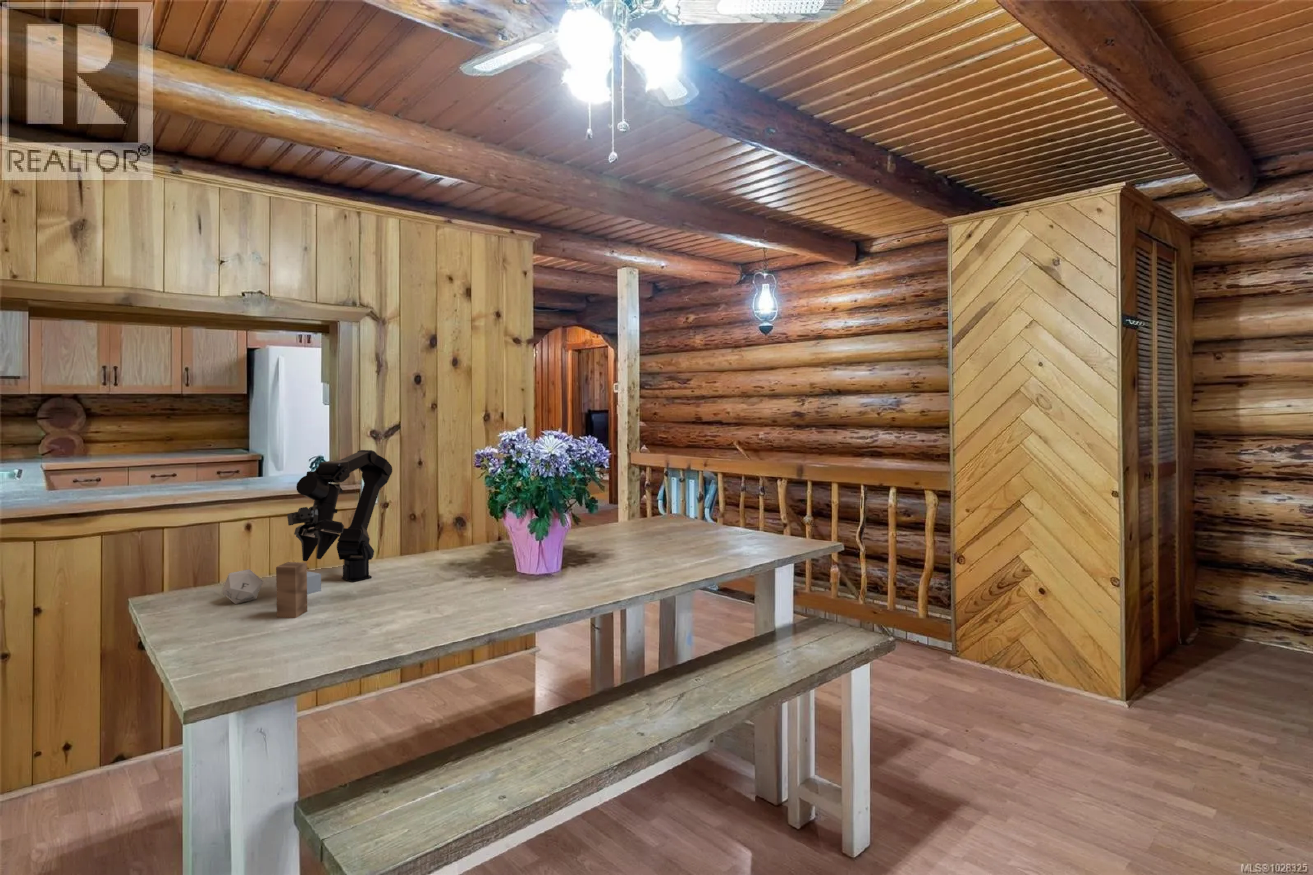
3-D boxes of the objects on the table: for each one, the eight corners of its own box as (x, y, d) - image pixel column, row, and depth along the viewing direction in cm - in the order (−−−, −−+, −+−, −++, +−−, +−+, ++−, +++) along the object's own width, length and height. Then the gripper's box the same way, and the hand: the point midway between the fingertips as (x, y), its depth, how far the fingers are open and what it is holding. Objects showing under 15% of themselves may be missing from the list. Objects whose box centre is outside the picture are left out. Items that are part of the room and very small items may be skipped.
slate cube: (309, 588, 194) (309, 571, 194) (321, 591, 192) (320, 574, 192) (293, 592, 190) (293, 575, 190) (305, 595, 188) (305, 578, 187)
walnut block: (288, 610, 174) (287, 562, 173) (307, 611, 174) (306, 562, 173) (276, 617, 169) (276, 566, 168) (296, 617, 169) (295, 567, 168)
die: (214, 607, 178) (225, 581, 174) (224, 583, 185) (235, 558, 181) (249, 614, 182) (260, 589, 178) (258, 590, 189) (269, 566, 185)
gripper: (282, 502, 188) (267, 557, 183) (308, 493, 176) (294, 552, 171) (322, 510, 196) (309, 564, 190) (350, 503, 184) (337, 559, 178)
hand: (311, 560), depth 182 cm, fingers open, 9 cm apart
